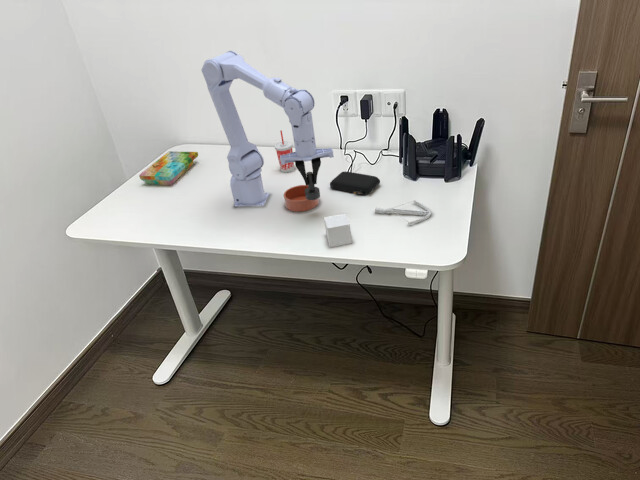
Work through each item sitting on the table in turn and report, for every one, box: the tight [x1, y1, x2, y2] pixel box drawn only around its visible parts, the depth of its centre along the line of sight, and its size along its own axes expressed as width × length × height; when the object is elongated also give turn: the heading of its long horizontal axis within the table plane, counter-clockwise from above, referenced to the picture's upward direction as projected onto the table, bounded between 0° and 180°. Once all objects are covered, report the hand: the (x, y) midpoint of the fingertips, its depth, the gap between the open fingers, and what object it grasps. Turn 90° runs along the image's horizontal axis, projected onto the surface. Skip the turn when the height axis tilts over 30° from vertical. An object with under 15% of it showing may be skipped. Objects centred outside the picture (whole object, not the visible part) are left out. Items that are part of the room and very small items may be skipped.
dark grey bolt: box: [305, 171, 321, 200], centre depth 154 cm, size 4×4×8 cm
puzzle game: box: [139, 150, 199, 186], centre depth 191 cm, size 12×5×20 cm
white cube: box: [323, 213, 353, 248], centre depth 146 cm, size 6×6×6 cm
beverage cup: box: [273, 130, 295, 173], centre depth 183 cm, size 6×6×14 cm
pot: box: [283, 184, 320, 213], centre depth 164 cm, size 10×10×4 cm
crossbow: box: [374, 199, 432, 226], centre depth 156 cm, size 16×13×2 cm
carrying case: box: [329, 171, 381, 196], centre depth 171 cm, size 11×3×15 cm
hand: (310, 183), depth 153 cm, fingers closed on dark grey bolt, 2 cm apart
